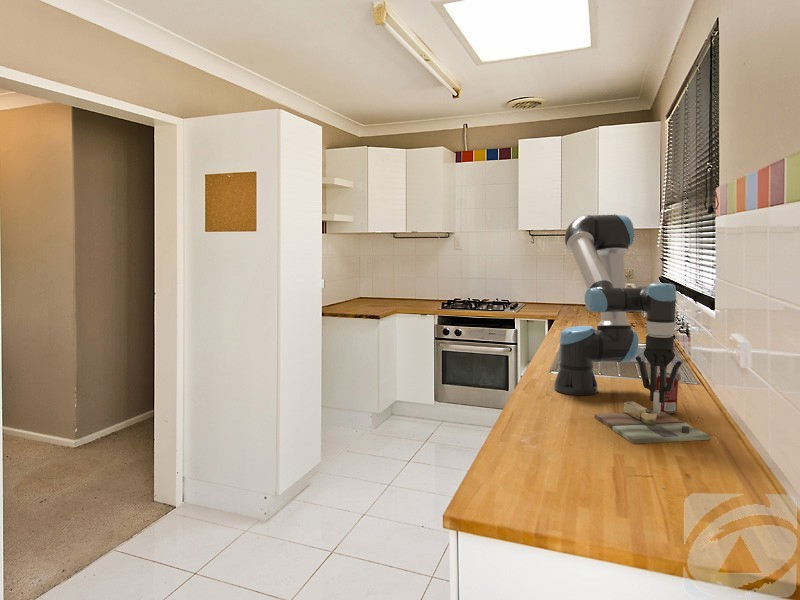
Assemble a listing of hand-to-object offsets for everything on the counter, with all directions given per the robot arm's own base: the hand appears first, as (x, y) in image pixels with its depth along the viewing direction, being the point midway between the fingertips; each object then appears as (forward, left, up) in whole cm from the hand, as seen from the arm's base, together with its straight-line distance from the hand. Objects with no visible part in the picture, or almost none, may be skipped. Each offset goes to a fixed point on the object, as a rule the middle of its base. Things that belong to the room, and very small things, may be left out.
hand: (656, 412), depth 161 cm
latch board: (+6, -6, -3) cm, 9 cm away
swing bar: (+1, -6, -1) cm, 6 cm away
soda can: (-8, +8, -3) cm, 12 cm away
